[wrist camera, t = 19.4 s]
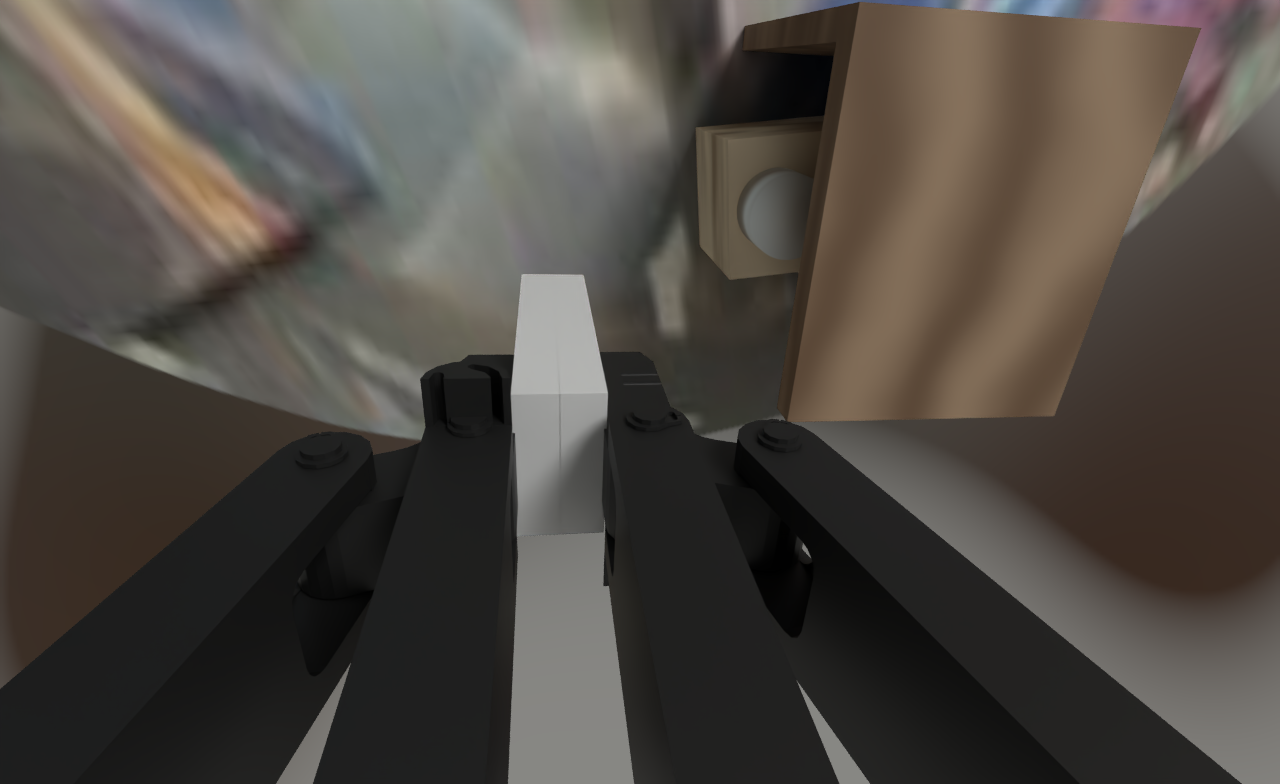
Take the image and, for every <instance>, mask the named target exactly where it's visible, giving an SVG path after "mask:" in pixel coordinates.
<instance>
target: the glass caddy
mask: <svg viewBox="0 0 1280 784" xmlns="http://www.w3.org/2000/svg"><path fill="white" fill-rule="evenodd" d="M823 121H824V116H813V117H802V118H792V119H781V120H770V121H759V122H749V123H738V124H727V125H717V126H706V127H696V152H697V182H698V213H699V244H700V247H701V248H702V249H703V250H704V251H705V253H706V254H707V255H708V256H709V257H710V258H711V259H712V260H713V262H714V263H715V264H716V265H717V266H718V267H719V268H720V269H721V271H722V272H723V273H724V274H725V275H726V276H727V277H728V278H729V280H733V279H742V278H751V277H759V276H768V275H777V274H786V273H794V272H799V268H800V262H801V256H802V250H803V244H804V238H805V231H806V225H807V219H808V213H809V207H810V201H811V195H812V188H813V182H814V176H815V170H816V164H817V158H818V152H819V145H820V139H821V133H822V127H823Z"/></svg>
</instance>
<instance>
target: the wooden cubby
mask: <svg viewBox="0 0 1280 784" xmlns="http://www.w3.org/2000/svg"><path fill="white" fill-rule="evenodd" d="M1200 30H1201V28H1193V27H1180V26H1167V25H1154V24H1141V23H1127V22H1114V21H1101V20H1088V19H1075V18H1062V17H1049V16H1036V15H1023V14H1010V13H997V12H984V11H970V10H957V9H944V8H931V7H918V6H905V5H892V4H879V3H866V2H858V3H853V4H848V5H843V6H838V7H834V8H829V9H824V10H819V11H815V12H810V13H805V14H800V15H795V16H791V17H786V18H781V19H776V20H772V21H767V22H762V23H757V24H753V25H748V26H745V31H744V40H743V50H742V51H757V52H773V53H789V54H805V55H821V56H834V59H833V65H832V72H831V78H830V84H829V90H828V96H827V102H826V108H825V115H824V121H823V127H822V133H821V139H820V145H819V152H818V158H817V164H816V170H815V176H814V182H813V188H812V195H811V201H810V207H809V213H808V219H807V225H806V231H805V238H804V244H803V250H802V256H801V262H800V268H799V275H798V281H797V287H796V293H795V299H794V305H793V311H792V318H791V324H790V330H789V336H788V342H787V348H786V355H785V361H784V367H783V373H782V379H781V385H780V391H779V398H778V404H777V408H778V410H779V411H780V412H781V414H782V415H783V417H784V418H785V420H786V421H789V422H813V421H815V422H816V421H859V420H902V419H945V418H987V417H1030V416H1031V417H1032V416H1054V415H1055V412H1056V410H1057V407H1058V404H1059V402H1060V399H1061V396H1062V394H1063V391H1064V389H1065V386H1066V383H1067V381H1068V378H1069V375H1070V373H1071V370H1072V368H1073V365H1074V362H1075V360H1076V357H1077V354H1078V352H1079V349H1080V346H1081V344H1082V341H1083V339H1084V336H1085V333H1086V331H1087V328H1088V325H1089V323H1090V320H1091V317H1092V315H1093V312H1094V309H1095V307H1096V304H1097V302H1098V299H1099V296H1100V293H1101V291H1102V288H1103V286H1104V283H1105V280H1106V278H1107V275H1108V273H1109V270H1110V267H1111V265H1112V262H1113V259H1114V257H1115V254H1116V251H1117V249H1118V246H1119V244H1120V241H1121V238H1122V236H1123V233H1124V230H1125V228H1126V225H1127V222H1128V220H1129V217H1130V215H1131V212H1132V209H1133V207H1134V204H1135V201H1136V199H1137V196H1138V193H1139V191H1140V188H1141V186H1142V183H1143V180H1144V178H1145V175H1146V172H1147V170H1148V167H1149V164H1150V162H1151V159H1152V157H1153V154H1154V151H1155V149H1156V146H1157V143H1158V141H1159V138H1160V135H1161V133H1162V130H1163V127H1164V125H1165V122H1166V120H1167V117H1168V114H1169V112H1170V109H1171V106H1172V104H1173V101H1174V98H1175V96H1176V93H1177V91H1178V88H1179V85H1180V83H1181V80H1182V77H1183V75H1184V72H1185V69H1186V67H1187V64H1188V62H1189V59H1190V56H1191V54H1192V51H1193V48H1194V46H1195V43H1196V40H1197V38H1198V35H1199V33H1200Z"/></svg>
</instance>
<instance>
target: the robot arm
mask: <svg viewBox="0 0 1280 784" xmlns="http://www.w3.org/2000/svg"><path fill="white" fill-rule="evenodd" d="M420 381H421V390H422V399H423V408H424V417H425V426H426V428H425V431H424V434H423V437H422V440H421V442H420V443H418V444H415V445H413V446H410V447H408V448H404V449H400V450H396V451H392V452H386V453H381V454H376V455H373V452H372V448H371V445H370V441H368V440H367V439H365V438H363V437H362V436H360V435H356V434H352V433H347V432H322V433H321V434H319V433H316V434H312V435H308V436H307V437H305V438H302V439H299V440H296V441H294V442H291V443H290V444H288V445H286V446H285V447H283V448H282V449H280V450H279V451H277V452H276V453H275V454H274V455H273V456H271V457H270V458H269V459H268V460H267V461H266V462H265V463H263V464H262V465H261V466H260V467H259V468H257V469H256V470H255V471H254V472H253V473H252V474H250V475H249V476H248V477H247V478H246V479H245V480H243V482H241V483H240V484H239V485H238V486H236V487H235V488H234V489H233V490H232V491H231V492H229V493H228V494H227V495H226V496H225V497H224V498H223V499H221V501H219V502H218V503H217V504H215V505H214V506H213V507H212V508H211V509H210V510H208V511H207V512H206V513H205V514H204V515H203V516H202V517H200V518H199V519H198V520H197V521H196V522H195V523H194V524H192V525H191V526H190V527H189V528H188V529H186V530H185V531H184V532H183V533H182V534H181V535H179V536H178V537H177V538H176V539H175V540H174V541H172V542H171V543H170V544H169V545H168V546H167V547H165V548H164V549H163V550H162V551H161V552H160V553H158V554H157V555H156V556H155V557H154V558H153V559H151V560H150V561H149V562H148V563H147V564H146V565H144V566H143V567H142V568H141V569H140V570H139V571H137V572H136V573H135V574H134V575H133V576H132V577H130V578H129V579H128V580H127V581H126V582H125V583H123V584H122V585H121V586H120V587H119V588H118V589H116V590H115V591H114V592H113V593H112V594H111V595H109V596H108V597H107V598H106V599H105V600H104V601H102V602H101V603H100V604H99V605H98V606H97V607H95V608H94V609H93V610H92V611H91V612H90V613H89V614H87V615H86V616H85V617H84V618H83V619H82V620H80V621H79V622H78V623H77V624H76V625H75V626H73V627H72V628H71V629H70V630H69V631H68V632H66V633H65V634H64V635H63V636H62V637H61V638H59V639H58V640H57V641H56V642H55V643H54V644H52V645H51V646H50V647H49V648H48V649H46V650H45V651H44V652H43V653H42V654H41V655H39V656H38V657H37V658H36V659H35V660H34V661H32V662H31V663H30V664H29V665H28V666H27V667H25V668H24V669H23V670H22V671H21V672H20V673H19V674H17V675H16V676H15V677H14V678H13V679H11V680H10V681H9V682H8V683H7V684H6V685H4V686H3V687H2V688H1V689H0V784H276V783H277V781H278V779H279V778H280V776H281V774H282V773H283V771H284V770H285V768H286V766H287V765H288V763H289V762H290V760H291V758H292V757H293V755H294V753H295V752H296V750H297V749H298V747H299V745H300V744H301V742H302V741H303V739H304V737H305V736H306V734H307V732H308V731H309V729H310V728H311V726H312V724H313V723H314V721H315V720H316V718H317V716H318V715H319V713H320V711H321V710H322V708H323V707H324V705H325V703H326V702H327V700H328V699H329V697H330V695H331V694H332V692H333V690H334V689H335V687H336V686H337V684H338V682H339V681H340V679H341V677H342V676H343V674H344V673H345V671H346V669H347V668H348V666H349V664H350V663H351V665H350V668H349V672H348V675H347V678H346V682H345V684H344V687H343V690H342V694H341V697H340V700H339V703H338V706H337V709H336V713H335V716H334V719H333V722H332V725H331V728H330V731H329V735H328V738H327V741H326V745H325V747H324V751H323V754H322V757H321V760H320V763H319V766H318V769H317V773H316V776H315V779H314V782H313V784H508V768H509V745H510V722H511V721H510V720H511V698H512V676H513V653H514V630H515V628H514V627H515V607H516V606H515V605H516V584H517V583H516V582H517V561H518V551H517V536H534V535H555V534H577V533H599V532H603V531H604V519H605V555H604V586H609V589H610V597H611V605H612V613H613V621H614V628H615V636H616V644H617V652H618V660H619V668H620V675H621V683H622V691H623V699H624V706H625V714H626V722H627V730H628V738H629V746H630V754H631V761H632V769H633V777H634V784H839V782H838V779H837V777H836V775H835V773H834V770H833V767H832V765H831V762H830V760H829V758H828V755H827V753H826V751H825V748H824V746H823V743H822V741H821V738H820V736H819V734H818V731H817V729H816V726H815V724H814V722H813V719H812V717H811V715H810V712H809V710H808V707H807V705H806V702H805V700H804V697H803V695H802V693H801V690H800V688H799V685H798V683H799V684H800V685H801V687H802V688H803V690H804V691H805V692H806V694H807V695H808V697H809V698H810V699H811V701H812V702H813V704H814V705H815V706H816V708H817V709H818V711H819V712H820V714H821V715H822V716H823V718H824V719H825V721H826V722H827V723H828V725H829V726H830V728H831V729H832V730H833V732H834V733H835V735H836V736H837V737H838V739H839V740H840V742H841V743H842V744H843V746H844V747H845V749H846V750H847V751H848V753H849V754H850V756H851V757H852V759H853V760H854V761H855V763H856V764H857V766H858V767H859V768H860V770H861V771H862V773H863V774H864V775H865V777H866V778H867V780H868V781H869V783H870V784H1242V783H1240V782H1239V781H1238V780H1237V779H1235V778H1234V777H1233V776H1232V775H1231V774H1229V773H1228V772H1227V771H1226V770H1224V769H1223V768H1222V767H1221V766H1220V765H1218V764H1217V763H1216V762H1215V761H1213V760H1212V759H1211V758H1210V757H1208V756H1207V755H1206V754H1205V753H1204V752H1202V751H1201V750H1200V749H1199V748H1198V747H1196V746H1195V745H1194V744H1193V743H1191V742H1190V741H1189V740H1187V738H1185V737H1184V736H1183V735H1182V734H1180V733H1179V732H1178V731H1177V730H1175V729H1174V728H1173V727H1172V726H1171V725H1169V724H1168V723H1167V722H1166V721H1165V720H1163V719H1162V718H1161V717H1160V716H1158V715H1157V714H1156V713H1155V712H1153V711H1152V710H1151V709H1150V708H1149V707H1147V706H1146V705H1145V704H1144V703H1143V702H1141V701H1140V700H1139V699H1138V698H1136V697H1135V696H1134V695H1133V694H1131V693H1130V692H1129V691H1128V690H1126V689H1125V688H1124V687H1123V686H1122V685H1120V684H1119V683H1118V682H1117V681H1116V680H1114V679H1113V678H1112V677H1111V676H1109V675H1108V674H1107V673H1106V672H1105V671H1103V670H1102V669H1101V668H1100V667H1099V666H1097V665H1096V664H1095V663H1094V662H1092V661H1091V660H1090V659H1089V658H1088V657H1086V656H1085V655H1084V654H1082V653H1081V652H1080V651H1079V650H1078V649H1077V648H1075V647H1074V646H1073V645H1072V644H1070V643H1069V642H1068V641H1067V640H1066V639H1064V638H1063V637H1062V636H1061V635H1059V634H1058V633H1057V632H1056V631H1055V630H1053V629H1052V628H1051V627H1050V626H1048V625H1047V624H1046V623H1045V622H1044V621H1042V620H1041V619H1040V618H1039V617H1037V616H1036V615H1035V614H1034V613H1033V612H1031V611H1030V610H1029V609H1028V608H1026V607H1025V606H1024V605H1023V604H1022V603H1020V602H1019V601H1018V600H1017V599H1015V598H1014V597H1013V596H1012V595H1011V594H1009V593H1008V592H1007V591H1006V590H1004V589H1003V588H1002V587H1001V586H999V585H998V584H997V583H996V582H995V581H993V580H992V579H991V578H990V577H988V576H987V575H986V574H985V573H984V572H982V571H981V570H980V569H979V568H978V567H976V566H975V565H974V564H973V563H971V562H970V561H969V560H968V559H967V558H965V557H964V556H963V555H962V554H960V553H959V552H958V551H957V550H956V549H954V548H953V547H952V546H951V545H949V544H948V543H947V542H946V541H945V540H943V539H942V538H941V537H940V536H938V535H937V534H936V533H935V532H934V531H932V530H931V529H930V528H929V527H927V526H926V525H925V524H924V523H923V522H921V521H920V520H919V519H918V518H916V517H915V516H914V515H913V514H912V513H910V512H909V511H908V510H906V509H905V508H904V507H903V506H902V505H901V504H899V503H898V502H897V501H896V500H895V499H893V498H892V497H891V496H890V495H888V494H887V493H886V492H884V490H882V489H881V488H880V487H879V486H877V485H876V484H875V483H874V482H872V481H871V480H870V479H869V478H868V477H866V476H865V475H864V474H863V473H862V472H860V471H859V470H858V469H856V468H855V467H854V466H853V465H852V464H850V463H849V462H848V461H847V460H845V459H844V458H843V457H842V456H841V455H840V454H838V453H837V452H836V451H834V450H833V449H832V448H831V447H830V446H828V445H827V444H826V443H825V442H824V441H822V440H821V439H820V438H819V437H818V436H816V435H815V434H814V433H812V432H810V431H809V430H807V429H805V428H804V427H801V426H798V425H795V424H792V423H791V422H789V421H784V420H781V421H779V420H777V419H770V420H758V421H754V422H751V423H748V424H745V425H744V426H743V427H742V428H741V429H739V433H738V439H737V443H733V442H726V441H720V440H714V439H709V438H704V437H701V436H699V435H696V434H694V432H693V430H692V427H691V425H690V422H689V420H688V419H687V418H686V417H685V415H684V414H683V413H681V412H679V411H677V410H675V409H674V408H671V407H670V405H669V402H668V400H667V397H666V394H665V392H664V389H663V387H662V384H661V381H660V379H659V376H658V375H657V371H656V368H655V366H654V363H653V361H651V360H650V359H649V358H647V357H646V356H644V355H643V354H642V353H640V352H599V348H598V343H597V338H596V333H595V328H594V324H593V319H592V314H591V309H590V304H589V299H588V294H587V290H586V285H585V280H584V275H556V274H522V278H521V289H520V300H519V310H518V321H517V332H516V343H515V353H514V355H468V356H467V357H466V358H465V359H463V360H462V361H461V362H453V363H449V364H445V365H441V366H438V367H436V368H434V369H432V370H430V371H428V372H426V373H425V374H424V375H423V377H422V378H421V379H420ZM803 543H804V545H805V546H806V548H807V549H808V551H809V554H810V556H811V558H810V557H809V556H808V555H807V554H806V553H805V552H804V551H803V549H802V545H803ZM351 661H352V662H351ZM797 681H798V683H797Z"/></svg>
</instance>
